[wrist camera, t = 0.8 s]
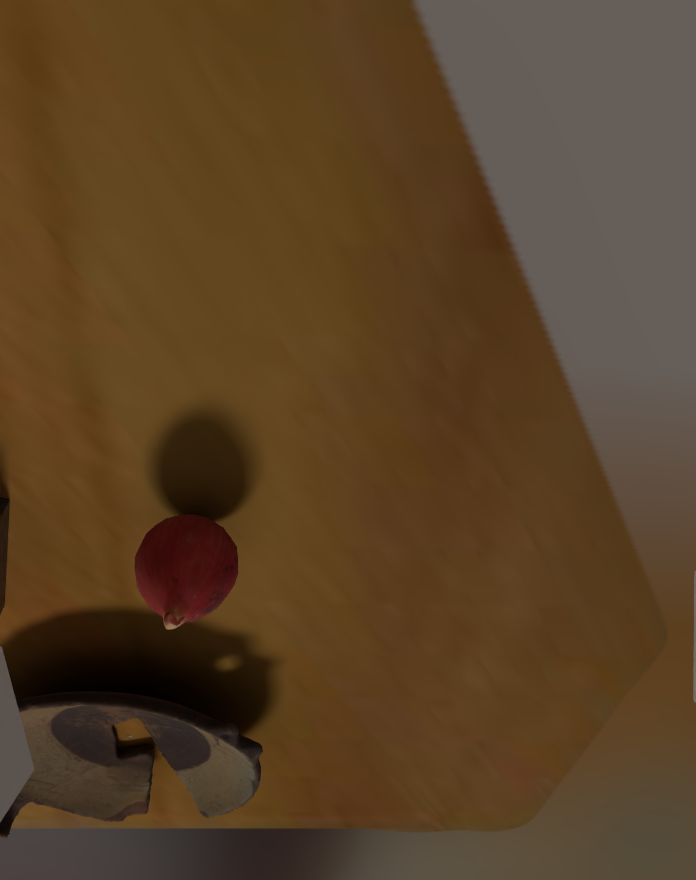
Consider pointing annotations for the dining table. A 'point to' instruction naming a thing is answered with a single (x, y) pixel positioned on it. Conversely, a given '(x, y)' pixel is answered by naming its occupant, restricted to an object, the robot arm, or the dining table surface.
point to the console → (3, 547)
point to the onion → (185, 568)
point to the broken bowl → (128, 756)
